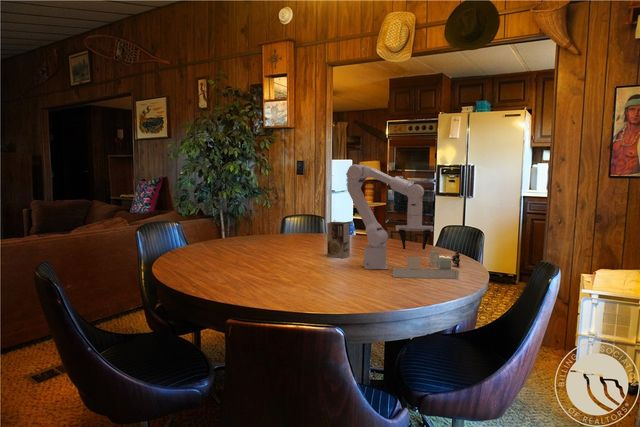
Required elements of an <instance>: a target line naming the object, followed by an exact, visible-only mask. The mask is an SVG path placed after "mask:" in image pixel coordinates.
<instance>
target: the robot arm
mask: <svg viewBox="0 0 640 427" xmlns="http://www.w3.org/2000/svg"><path fill="white" fill-rule="evenodd" d="M345 174H346V183H347V184H346V190H347V192H348V194H349V196H350V198H351V200H352V202H353V204H354V206H355V208H356V210H357V212H358V214H359V217H360V218H361V220H362V222H363V224H364V226H365V234H366V237H367V238H366V239H367V243H368V245H366V246H364V248H363V249H364V250H363V255H364V256H363V268H364V269H365V270H388V269H389V268H388V265H387V250H388V249H387V244H386V243H387V242H388V240H389V234H388V231H386V230H385V229H384V228H383V227H382V225H381V224H380V223H379V222H378V221H377V219H376V217H375V215H374V212H373V210H372V209H371V206H370V205H369V202H368V200H367V198H366V197H365V195H364V194H365V193H364V192H363V191H362V186H363V184H364V182H365V181H366V180H367V178H369V179H370V178H373V179H375V180H378V181H380V182H382V183H384V184H387V185H389V187H390V189H391V190H393V191H395V192H397V193H400V194H401V195H404V196H407V215H406V216H407V219H406V223H407V224H406V225H405V224H402V225H399V224H398V225H395V231H398V235H399V237H400V240H401V244H402V249H403V250H406V236H407V235H406V231H407V232H409V231H410V232H422V247H421V248H422V250H426V246H427V243H428V240H429V238H430V236H431V235H432V232H434V226H433V225H423V197H424V194H425V189H424V187H423V186H422V185H421V184H420V183H415V182H414V181H409V180H407V179H405V178H404V176H402V175H399V176H398V175H396V176H395V177H393V176H390V175H388V174H386V173H385V172H383V171H380V170H379V169H377V168H375V167H372V166H367V165H366V164H351V165H350V166H349V167H348V169H347V171H346V173H345Z"/></svg>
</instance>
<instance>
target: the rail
mask: <svg viewBox="0 0 640 427" xmlns="http://www.w3.org/2000/svg"><path fill="white" fill-rule="evenodd" d="M459 274H460V271H459V269H456V268H452V260H450V259H446V258H438V266H437V268H431V267H430V268H422V267H420V268H407V267H393V268H392V278H393V279H396V278H405V279H406V278H407V279H408V278H411V279H413V278H414V279H415V278H416V279H455V280H459V276H460V275H459Z"/></svg>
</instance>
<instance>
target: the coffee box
mask: <svg viewBox="0 0 640 427" xmlns="http://www.w3.org/2000/svg"><path fill="white" fill-rule="evenodd" d="M326 224H327V225H326V228H327V229H326V230H327V231H326V236H327V240H326V241H327V242H326V243H327V245H326V246H327V247H326V248H327V257H329V258H337V259H338V258H340V259H346V258H348V257H350V255H351V253H350V251H351V250H350V249H351V247H350V246H351V245H350V244H351V243H350V242H351V241H350V239H351V238H350V237H351V234H350V232H351V222H347V221H346V222H344V221H330V222H327V223H326Z"/></svg>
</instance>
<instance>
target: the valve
mask: <svg viewBox="0 0 640 427" xmlns="http://www.w3.org/2000/svg"><path fill="white" fill-rule="evenodd" d="M460 256H461V254H460V251H458V250H456V251H455V253H454V255H452V256H444V255H443V254H441V255H440V250H438V249H431V250H430V251H429V257H428V258H429V266H430V267H433V266H437V267H438V258H446V259H450V260H451V262H453V264H454V265H455V267H456V266H457V267H459V266H460V261H461V259H460Z"/></svg>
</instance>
